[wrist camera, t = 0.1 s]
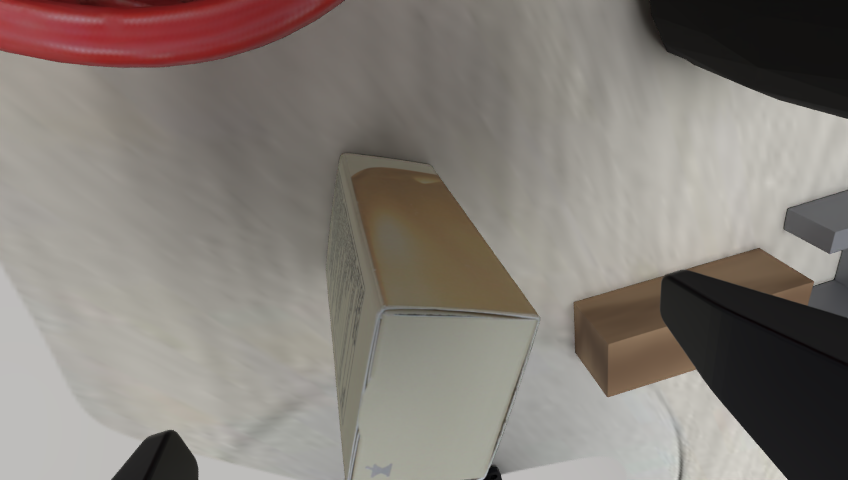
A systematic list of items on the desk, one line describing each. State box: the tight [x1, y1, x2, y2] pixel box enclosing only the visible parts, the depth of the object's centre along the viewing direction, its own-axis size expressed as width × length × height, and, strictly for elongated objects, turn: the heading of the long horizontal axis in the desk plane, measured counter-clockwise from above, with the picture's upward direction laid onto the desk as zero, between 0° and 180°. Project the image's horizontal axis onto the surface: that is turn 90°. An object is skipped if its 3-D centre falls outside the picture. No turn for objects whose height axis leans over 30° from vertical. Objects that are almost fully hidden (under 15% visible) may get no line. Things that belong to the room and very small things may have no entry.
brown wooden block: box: [574, 248, 814, 397], centre depth 29 cm, size 4×12×4 cm, turn 101°
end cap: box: [784, 190, 848, 318], centre depth 30 cm, size 10×6×3 cm, turn 12°
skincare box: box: [326, 153, 540, 480], centre depth 18 cm, size 6×4×12 cm
